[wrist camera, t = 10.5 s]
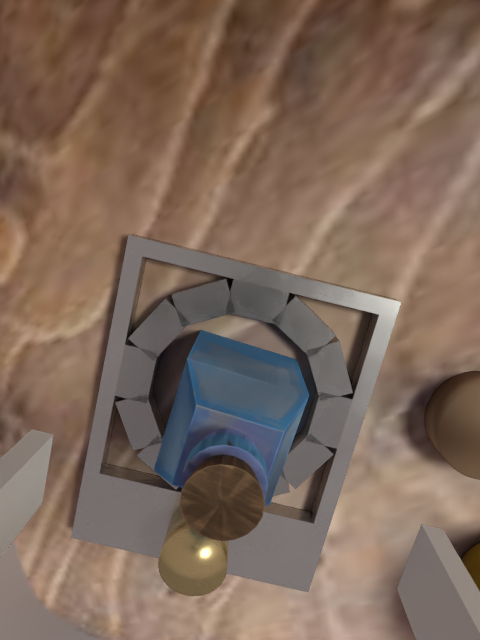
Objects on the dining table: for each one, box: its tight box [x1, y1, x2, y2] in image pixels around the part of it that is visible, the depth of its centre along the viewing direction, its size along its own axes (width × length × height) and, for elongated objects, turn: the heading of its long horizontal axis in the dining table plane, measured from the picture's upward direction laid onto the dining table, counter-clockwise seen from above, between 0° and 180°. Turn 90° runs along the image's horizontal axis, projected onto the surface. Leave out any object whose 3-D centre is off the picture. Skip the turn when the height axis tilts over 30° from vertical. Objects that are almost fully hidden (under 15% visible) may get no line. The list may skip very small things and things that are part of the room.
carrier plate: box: [71, 235, 401, 596], centre depth 27 cm, size 20×16×4 cm
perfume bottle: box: [154, 330, 309, 541], centre depth 23 cm, size 6×6×12 cm
